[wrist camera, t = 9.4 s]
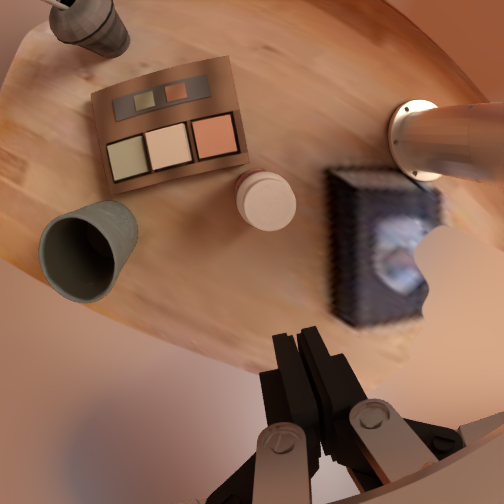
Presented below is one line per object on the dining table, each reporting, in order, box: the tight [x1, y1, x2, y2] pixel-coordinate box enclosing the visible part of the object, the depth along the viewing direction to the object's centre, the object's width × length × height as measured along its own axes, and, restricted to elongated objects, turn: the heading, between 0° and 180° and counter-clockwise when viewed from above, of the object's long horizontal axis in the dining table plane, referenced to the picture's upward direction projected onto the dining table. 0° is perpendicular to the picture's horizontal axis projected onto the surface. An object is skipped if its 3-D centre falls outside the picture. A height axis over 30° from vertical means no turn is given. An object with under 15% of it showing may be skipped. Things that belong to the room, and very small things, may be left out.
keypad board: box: [91, 56, 250, 196], centre depth 35 cm, size 18×14×3 cm
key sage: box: [107, 136, 151, 180], centre depth 35 cm, size 4×4×2 cm
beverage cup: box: [42, 0, 130, 58], centre depth 22 cm, size 7×7×20 cm
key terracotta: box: [192, 115, 237, 158], centre depth 35 cm, size 4×4×2 cm
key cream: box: [145, 123, 192, 170], centre depth 34 cm, size 4×4×2 cm
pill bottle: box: [234, 168, 296, 231], centre depth 35 cm, size 6×6×11 cm
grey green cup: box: [39, 200, 138, 303], centre depth 34 cm, size 10×10×12 cm
